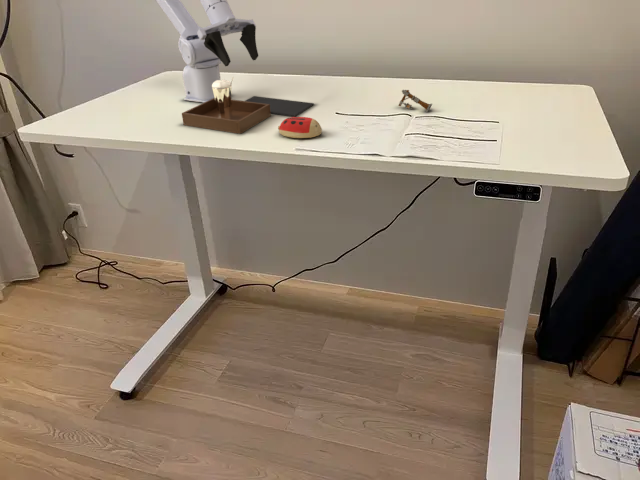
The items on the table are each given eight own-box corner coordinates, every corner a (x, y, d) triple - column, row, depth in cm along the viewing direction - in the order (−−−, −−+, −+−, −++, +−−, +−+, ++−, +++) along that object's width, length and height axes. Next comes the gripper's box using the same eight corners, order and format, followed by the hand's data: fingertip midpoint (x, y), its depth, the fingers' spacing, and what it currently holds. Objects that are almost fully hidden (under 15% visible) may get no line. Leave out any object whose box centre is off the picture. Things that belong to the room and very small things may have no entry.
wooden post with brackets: (397, 102, 139) (404, 86, 136) (424, 118, 137) (433, 103, 134) (394, 104, 137) (402, 88, 134) (422, 121, 136) (430, 105, 133)
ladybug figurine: (319, 140, 121) (319, 124, 119) (275, 139, 122) (273, 123, 121) (324, 129, 127) (323, 114, 125) (281, 128, 128) (280, 113, 126)
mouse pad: (232, 108, 142) (232, 107, 142) (254, 97, 150) (254, 96, 150) (294, 116, 135) (294, 115, 135) (314, 104, 142) (313, 103, 142)
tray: (183, 125, 133) (181, 113, 131) (216, 108, 143) (214, 97, 141) (240, 133, 126) (239, 121, 125) (270, 115, 136) (269, 104, 135)
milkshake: (235, 122, 132) (229, 79, 127) (213, 121, 133) (207, 79, 128) (241, 115, 136) (236, 74, 131) (220, 115, 137) (214, 73, 132)
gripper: (194, 2, 124) (220, 57, 124) (249, -6, 132) (274, 46, 131) (186, 21, 130) (211, 73, 130) (239, 12, 138) (262, 62, 137)
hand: (242, 61), depth 131 cm, fingers open, 7 cm apart
